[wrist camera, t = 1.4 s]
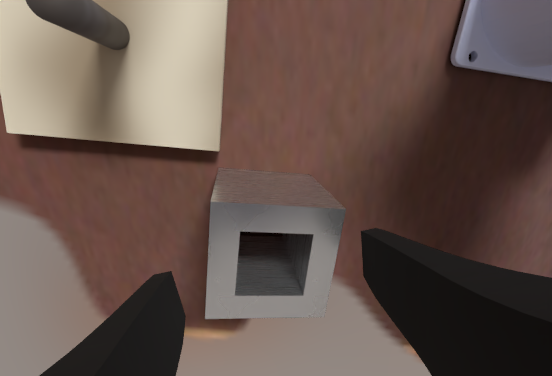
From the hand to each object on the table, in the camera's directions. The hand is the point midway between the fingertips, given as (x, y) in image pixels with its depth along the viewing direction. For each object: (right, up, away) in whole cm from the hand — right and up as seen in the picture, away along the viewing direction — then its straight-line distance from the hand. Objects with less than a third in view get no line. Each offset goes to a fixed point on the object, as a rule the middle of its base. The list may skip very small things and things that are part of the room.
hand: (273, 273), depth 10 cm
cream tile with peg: (-7, +10, +2) cm, 12 cm away
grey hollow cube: (-1, +2, +5) cm, 6 cm away
